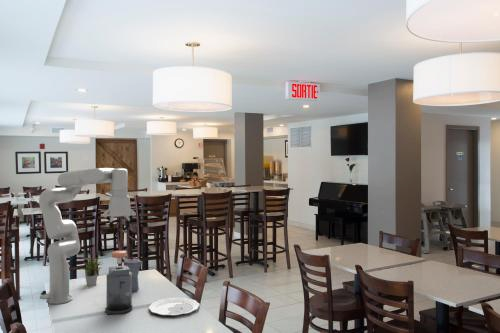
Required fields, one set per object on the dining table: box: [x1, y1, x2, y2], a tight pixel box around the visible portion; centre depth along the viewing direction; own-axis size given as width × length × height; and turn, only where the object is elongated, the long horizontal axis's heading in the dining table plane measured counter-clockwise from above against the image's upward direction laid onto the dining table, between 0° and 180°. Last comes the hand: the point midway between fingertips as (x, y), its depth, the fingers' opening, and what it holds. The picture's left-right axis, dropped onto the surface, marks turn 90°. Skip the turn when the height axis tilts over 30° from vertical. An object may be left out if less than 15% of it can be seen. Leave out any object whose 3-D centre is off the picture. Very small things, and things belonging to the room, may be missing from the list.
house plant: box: [81, 257, 103, 287], centre depth 249 cm, size 14×14×16 cm
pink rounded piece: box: [111, 250, 128, 265], centre depth 208 cm, size 7×7×6 cm
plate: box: [148, 297, 201, 317], centre depth 211 cm, size 25×25×2 cm
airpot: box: [105, 265, 134, 316], centre depth 208 cm, size 13×19×21 cm
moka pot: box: [118, 255, 143, 294], centre depth 240 cm, size 10×15×20 cm, turn 78°
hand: (119, 228), depth 208 cm, fingers open, 6 cm apart
